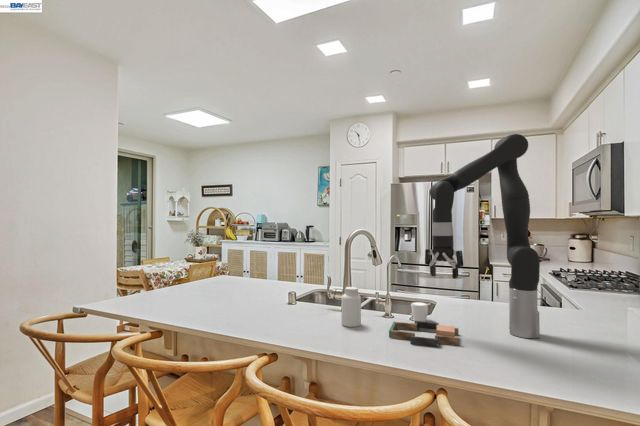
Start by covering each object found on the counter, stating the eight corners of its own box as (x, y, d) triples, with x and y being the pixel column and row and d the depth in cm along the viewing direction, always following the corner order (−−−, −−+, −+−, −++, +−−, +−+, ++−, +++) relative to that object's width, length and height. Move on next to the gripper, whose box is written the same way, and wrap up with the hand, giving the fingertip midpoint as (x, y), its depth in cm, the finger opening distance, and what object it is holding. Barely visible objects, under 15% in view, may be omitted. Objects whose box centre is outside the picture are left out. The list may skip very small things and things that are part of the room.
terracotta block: (454, 337, 127) (454, 326, 127) (454, 343, 121) (454, 332, 121) (437, 335, 129) (437, 324, 129) (436, 341, 123) (436, 330, 123)
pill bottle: (364, 324, 142) (364, 287, 142) (353, 328, 136) (352, 290, 136) (349, 320, 147) (349, 285, 147) (337, 324, 141) (337, 288, 142)
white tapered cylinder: (428, 322, 144) (428, 306, 144) (411, 321, 145) (411, 305, 145) (427, 318, 150) (426, 302, 151) (410, 317, 152) (410, 301, 152)
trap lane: (458, 331, 133) (457, 324, 133) (460, 350, 114) (460, 342, 114) (394, 324, 141) (394, 318, 141) (387, 341, 122) (387, 334, 122)
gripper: (465, 234, 128) (467, 278, 128) (430, 233, 138) (431, 274, 138) (456, 235, 123) (457, 280, 122) (420, 234, 133) (421, 276, 133)
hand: (443, 277), depth 130 cm, fingers open, 8 cm apart
